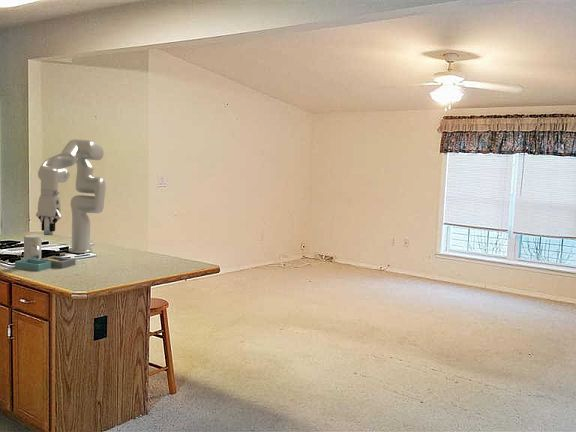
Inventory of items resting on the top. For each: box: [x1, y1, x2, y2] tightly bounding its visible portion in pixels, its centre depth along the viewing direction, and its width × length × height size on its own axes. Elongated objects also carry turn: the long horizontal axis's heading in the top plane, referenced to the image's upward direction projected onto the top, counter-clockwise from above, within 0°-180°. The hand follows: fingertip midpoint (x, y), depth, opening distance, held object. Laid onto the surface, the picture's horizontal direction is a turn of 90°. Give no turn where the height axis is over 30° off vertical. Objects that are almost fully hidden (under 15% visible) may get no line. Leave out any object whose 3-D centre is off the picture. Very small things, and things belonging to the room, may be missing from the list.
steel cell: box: [43, 217, 54, 236], centre depth 269 cm, size 4×4×9 cm
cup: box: [23, 234, 42, 260], centre depth 284 cm, size 8×8×12 cm
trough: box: [14, 258, 52, 272], centre depth 266 cm, size 9×14×3 cm, turn 73°
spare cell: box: [31, 245, 40, 260], centre depth 276 cm, size 4×4×9 cm
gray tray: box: [40, 255, 77, 269], centre depth 275 cm, size 10×13×3 cm
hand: (48, 230), depth 269 cm, fingers closed on steel cell, 4 cm apart
